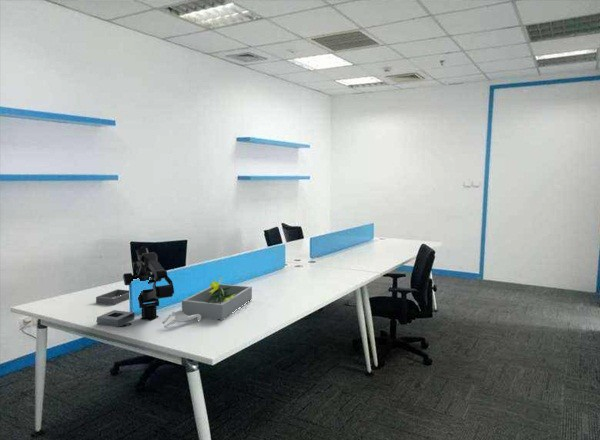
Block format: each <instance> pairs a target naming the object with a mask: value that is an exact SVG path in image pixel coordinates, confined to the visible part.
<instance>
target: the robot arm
mask: <svg viewBox="0 0 600 440" xmlns="http://www.w3.org/2000/svg"><path fill="white" fill-rule="evenodd" d="M136 255H137V260H138V261H133V262H132V264H131V267H132V268H133V270H135V271H136V275H135V274H133V273H132V272H126V273H123V275H122V279H123V283H124V286H131V285H130V283H131V281H133V279H137V278H139V279H140V281H146V280H149V277H151V278H150V280H149V282H148V284H149V285H152V284H153V285H152V288H149V289H145V290H143V291H141V293H140V295H139V297H138V300H137V301H138V305H139V306H138V307H139V309H141V317H140V318H139V319H140V320H145V321H153V320H155V319H157V318H158V317H159V315H157V313H158V312H157V307H159V306H160V299H167V298H172V297H173V295H174V294H175V288H174V283H173V281H172V279H171V278H170V277H169V275H168V273H167V272H168V271H167V270H166V269H164V268H163V266H162V265H161V264H160V262H159V261H158V259H159V258H158V255H157V253H156V252H154V251H153V252H149V249H148V247H146V246H141V247H140V248H138V249H136ZM162 279H164V280H165V281H166V282H167V284H166V285H165V284H164V285H156V284H157V282H162Z"/></svg>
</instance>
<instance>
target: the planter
mask: <svg viewBox="0 0 600 440" xmlns="http://www.w3.org/2000/svg"><path fill="white" fill-rule="evenodd" d="M219 287H220V288H225V287H232V288H230V289H227V290H223V292H224V293H225V292H227V293H226V294H225V295H228V294H232V293H234V294H235V295H234V294H233V296H234V297H232V298H230V299H228V300H227V301H225V302H223V301H222V303H221V304H220V303H217V302H216V303H215V302H214V303H212V301H213V299H214V298H215V297H213V298H212V296H213V295H215V294H210V293H212V292H213V291H212V292H209V291H211V290H213V287H206V288H205V289H203V290H201V291H198V292H197V293H195V294H193V295H191V296H189V297H187V298H184V299H182V300H181V310H182V312H183V313H184V314H186V315H187V316H191V315H195V314H200V315H201V319H205V318H211V319H210V320H214V319H220V320H219V321H224V320H225V319H226V317H227V316H228V315H230V314H231V313H232V312H234V311H235V310H236V309H238V308H239V307H241V306H242V305H244V304H245V303H246V302H248V301H249V300H251V299H252V300H253V287H252V286H247V285H237V284H236V285H235V284H227V283H226V284H224V283H220V284H219ZM214 292H215V291H214ZM216 294H217V293H216ZM220 295H222V293H220ZM231 296H232V295H231ZM231 296H229V297H231ZM229 297H227V298H229ZM252 300H251V301H252ZM208 302H209V303H208ZM248 303H249V302H248ZM245 305H246V304H245ZM245 305H244V306H245ZM242 307H243V306H242ZM242 307H241V308H242ZM238 310H239V309H238ZM235 312H236V311H235ZM235 312H234V313H235ZM232 314H233V313H232ZM232 314H231V315H232ZM231 315H230V316H231ZM228 317H229V316H228ZM228 317H227V318H228ZM224 318H225V319H224ZM223 319H224V320H223Z"/></svg>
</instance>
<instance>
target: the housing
mask: <svg viewBox="0 0 600 440" xmlns="http://www.w3.org/2000/svg"><path fill="white" fill-rule="evenodd" d="M134 320H135V312H133V311H123V310H116V309H114V310H111V311H108V312H106V313H104V314H102V315H101V314H100V316H97V317H96V325H100V326H106V327H114V328H115V327H117V328H119V327H121V326H123V325H126V324H128V323H129V322H132V321H134ZM125 323H126V324H125Z"/></svg>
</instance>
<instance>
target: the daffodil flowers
mask: <svg viewBox="0 0 600 440" xmlns="http://www.w3.org/2000/svg"><path fill="white" fill-rule="evenodd" d="M222 280H223V276H221V277H220V278H219V281H216V280H213V281H211V282H210V284H209V287H213V290H211V291H209V292H212V291H213V292H212V293H210V294H215V295H213V296H212V298H213V297H215V298H214V299H213V300H212V301H211V303H215V302H216V301H217V300H218V304H222V303H223V302H225V301H227V300H228V299H230V298H232V297H234V296H233V294H234V293H232V294H228V295H225V294H226V293H227V292H225V293H224V292H223V290H227V289H230V288H232V287H225V288H220V287H219V284H221V282H222ZM209 287H208V288H209ZM214 291H215V292H214ZM216 293H217V294H216ZM220 293H222V295H220ZM231 295H232V296H231ZM234 295H235V294H234ZM229 296H231V297H229ZM227 297H229V298H227ZM221 302H222V303H221Z"/></svg>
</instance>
